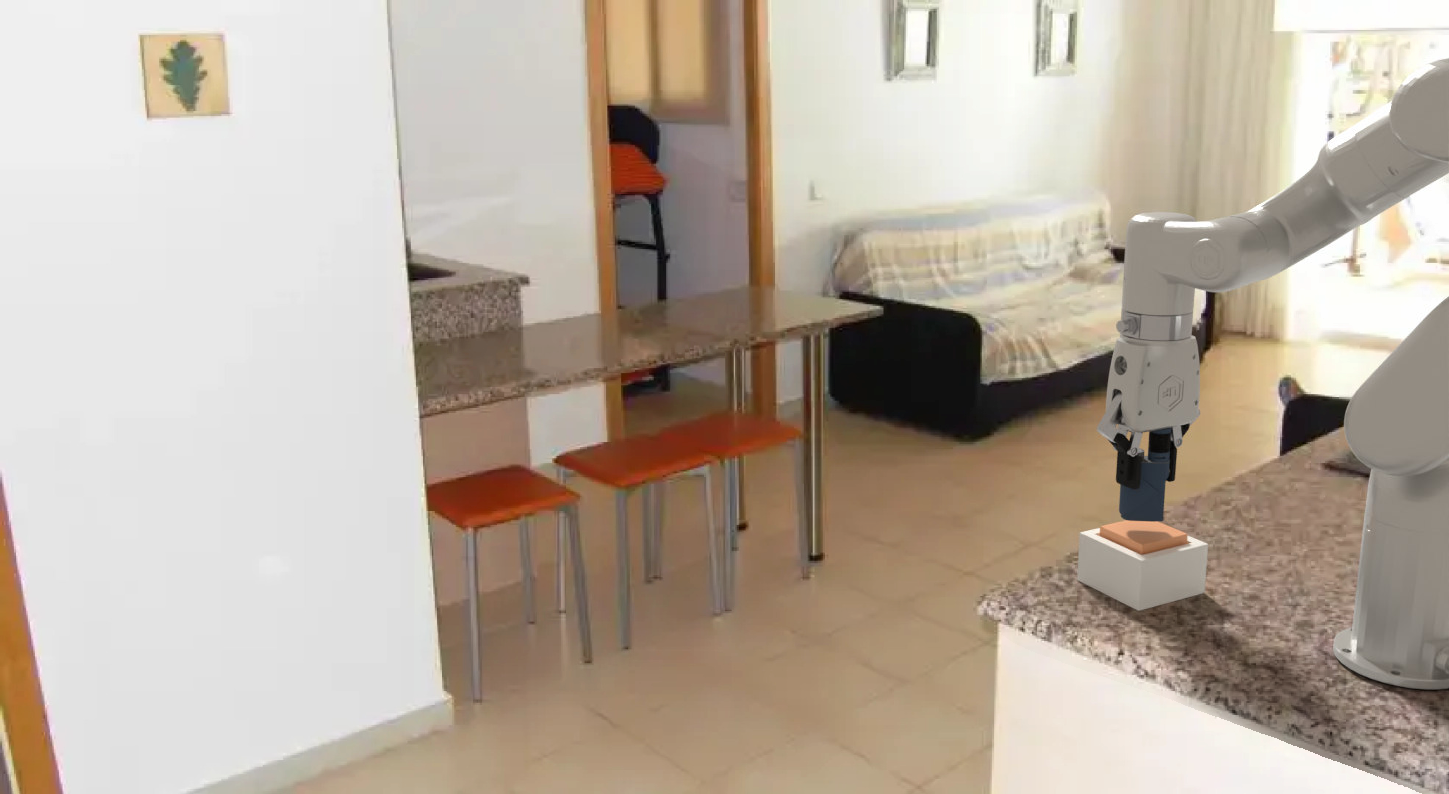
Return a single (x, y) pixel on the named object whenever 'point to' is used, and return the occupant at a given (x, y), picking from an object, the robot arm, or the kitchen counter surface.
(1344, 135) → the robot arm
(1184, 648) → the kitchen counter surface
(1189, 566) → the white hollow square box
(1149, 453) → the vaping device
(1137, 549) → the plunger
